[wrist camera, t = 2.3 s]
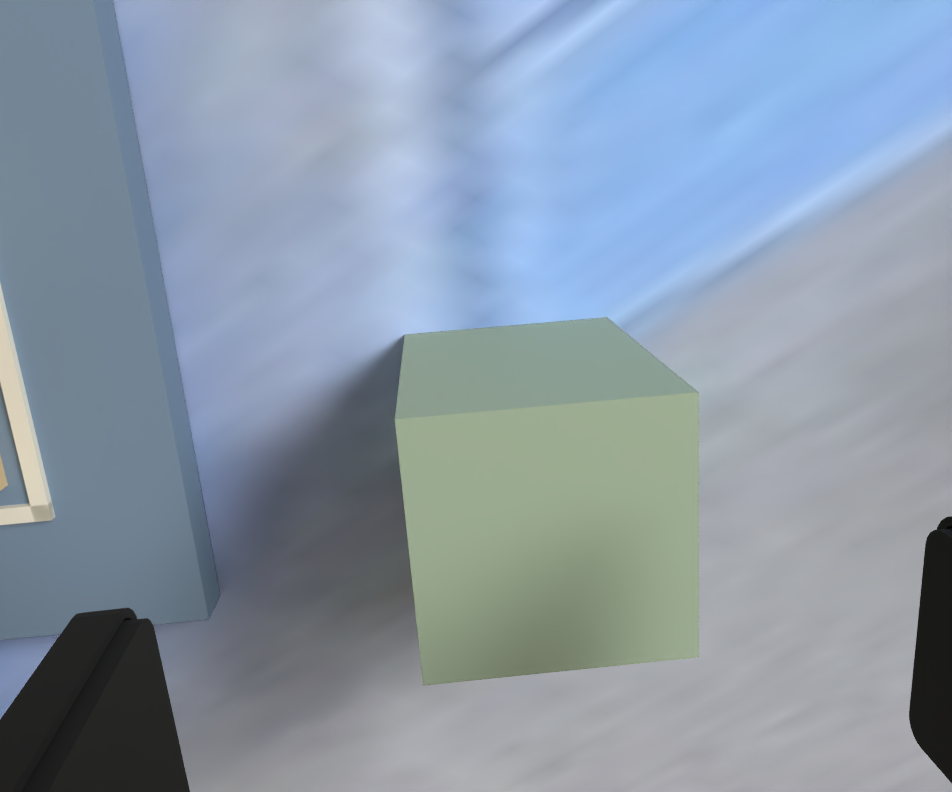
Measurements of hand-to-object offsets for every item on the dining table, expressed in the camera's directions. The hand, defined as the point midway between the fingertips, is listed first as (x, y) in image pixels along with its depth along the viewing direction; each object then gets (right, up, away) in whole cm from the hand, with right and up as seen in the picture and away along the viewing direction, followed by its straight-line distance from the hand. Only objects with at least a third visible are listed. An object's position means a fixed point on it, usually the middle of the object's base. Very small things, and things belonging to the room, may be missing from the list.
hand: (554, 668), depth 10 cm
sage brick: (0, +3, +11) cm, 11 cm away
